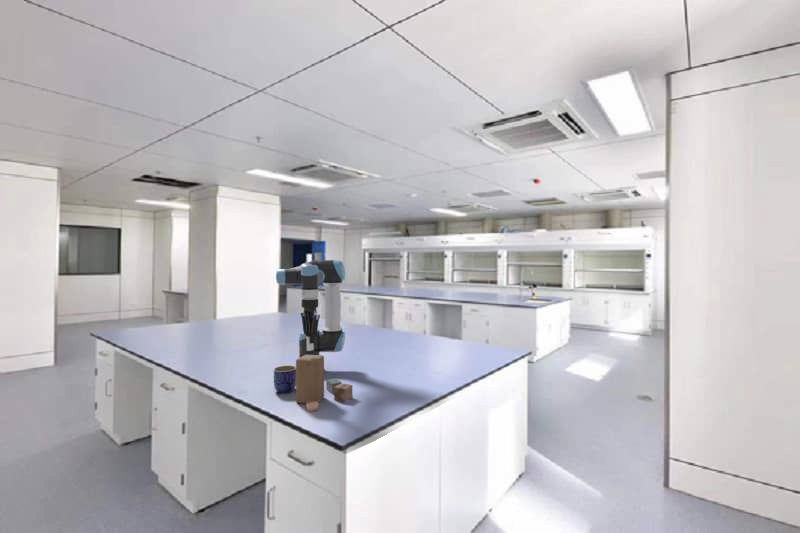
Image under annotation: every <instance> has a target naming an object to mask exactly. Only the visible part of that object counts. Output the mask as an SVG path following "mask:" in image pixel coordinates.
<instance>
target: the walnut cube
mask: <svg viewBox="0 0 800 533" xmlns="http://www.w3.org/2000/svg"><path fill="white" fill-rule="evenodd" d="M333 395H334V396H333V398H334V400H333V401H338V402H342V403H343V402H344V403H346V402H348V401H349V400H351V399H353V384H347V383H341V384H340V385H338V386H336V387H334V394H333Z"/></svg>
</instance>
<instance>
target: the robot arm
mask: <svg viewBox="0 0 800 533" xmlns="http://www.w3.org/2000/svg"><path fill="white" fill-rule="evenodd" d="M275 274H276V275H275V280H276V283H277V284H278V285H283V286H285V285H287V286H288V285H294V286H295V285H298V286H299V285H301V298H302V299H301V308H303V312H300V317H301V323H302V330H303V331H301V332H300V333H299V336H298V337H299V339H298V341H299V342H298V343H299V344H298V348H299V350H298V352H299V353H298V354H299V356H298V358H300V357H302V356H304V355H320V353H337V352H338V353H340V352H342V351H343V349H344V346H345V340H346V331H343V327H341V324H340V323H341V320H340V319H341V317H340V316H341V314H340V313H341V312H340V310H341V308H340V306H341V303H340V302H341V300H340V299H341V298H340V297H341V295H340V294H341V293H340V291H341V289H340V286H341V285H342V284H343V281H344V280H346V271H345V266H344V263H343V261H341V260H336V259H332V260H331V259H324V260H323V259H321V260H320V259H317V260H311V261H307V262H304V263H302V264H300V265H299V266H296V267H292V268H286V269H285V268H283V269H282V268H281V269H280V268H279V269H278V270H277V271H276V273H275ZM320 284H323V286H324V327H323V328H322V331H320V329H319V328H318V327H319V320H320V317H321V316H320V314H318V312H317V308H319V299H318V298H319V285H320Z"/></svg>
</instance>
